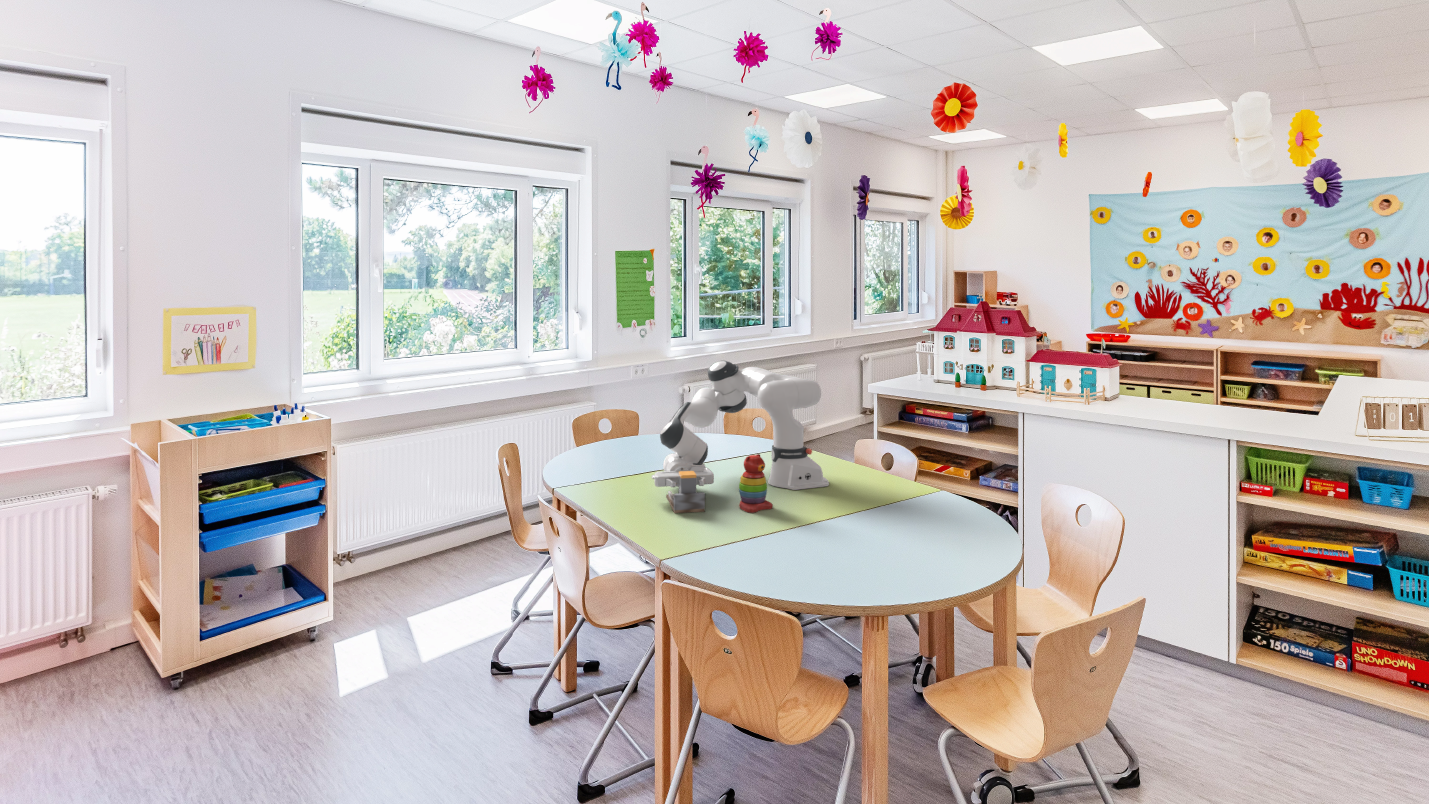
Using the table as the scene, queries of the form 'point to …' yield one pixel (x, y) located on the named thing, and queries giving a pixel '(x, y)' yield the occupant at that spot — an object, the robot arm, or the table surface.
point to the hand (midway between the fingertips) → (687, 484)
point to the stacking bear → (753, 485)
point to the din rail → (686, 502)
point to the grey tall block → (687, 482)
